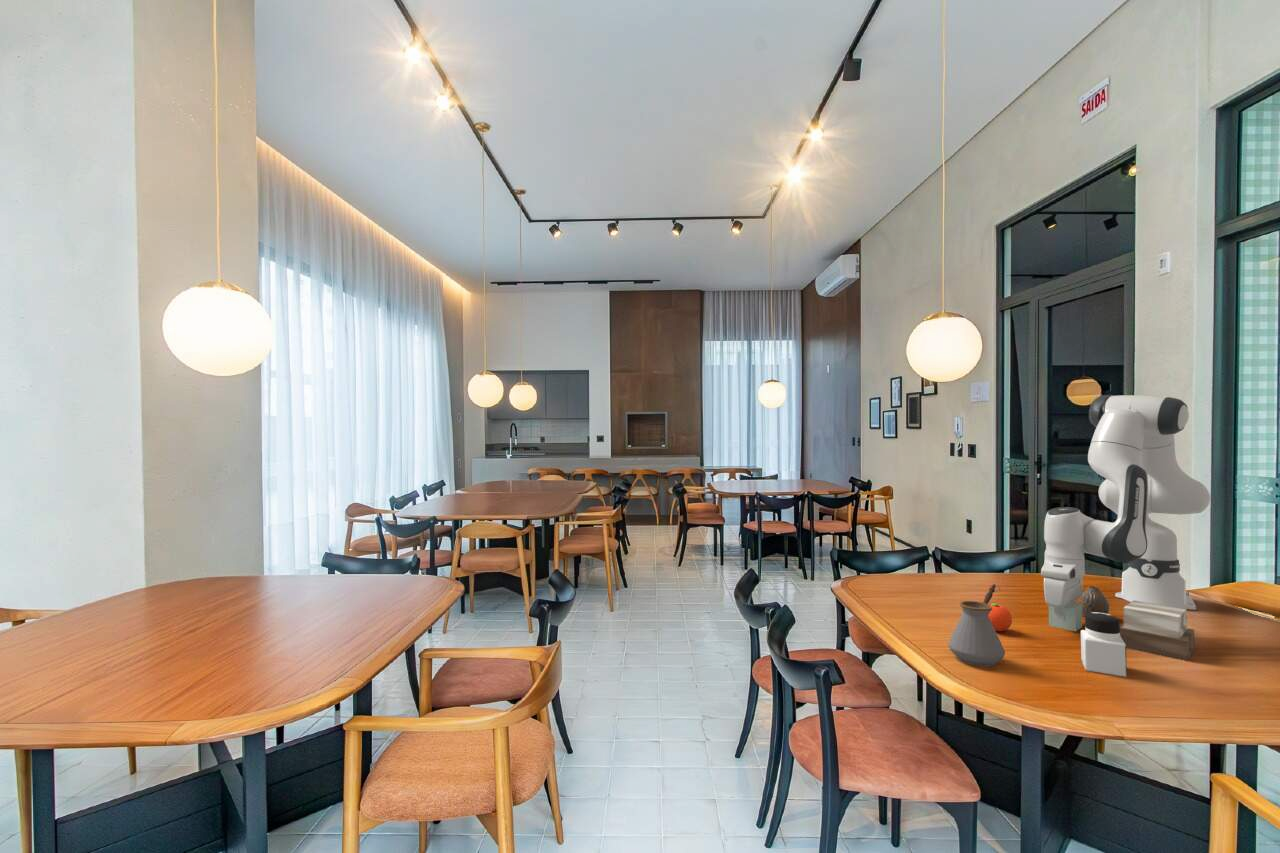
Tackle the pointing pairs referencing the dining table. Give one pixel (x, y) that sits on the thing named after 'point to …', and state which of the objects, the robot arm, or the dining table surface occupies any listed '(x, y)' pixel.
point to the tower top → (1155, 619)
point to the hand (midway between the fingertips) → (1065, 617)
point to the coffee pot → (977, 634)
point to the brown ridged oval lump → (1093, 601)
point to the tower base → (1159, 643)
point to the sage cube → (1067, 617)
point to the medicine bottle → (1103, 645)
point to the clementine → (1000, 617)
